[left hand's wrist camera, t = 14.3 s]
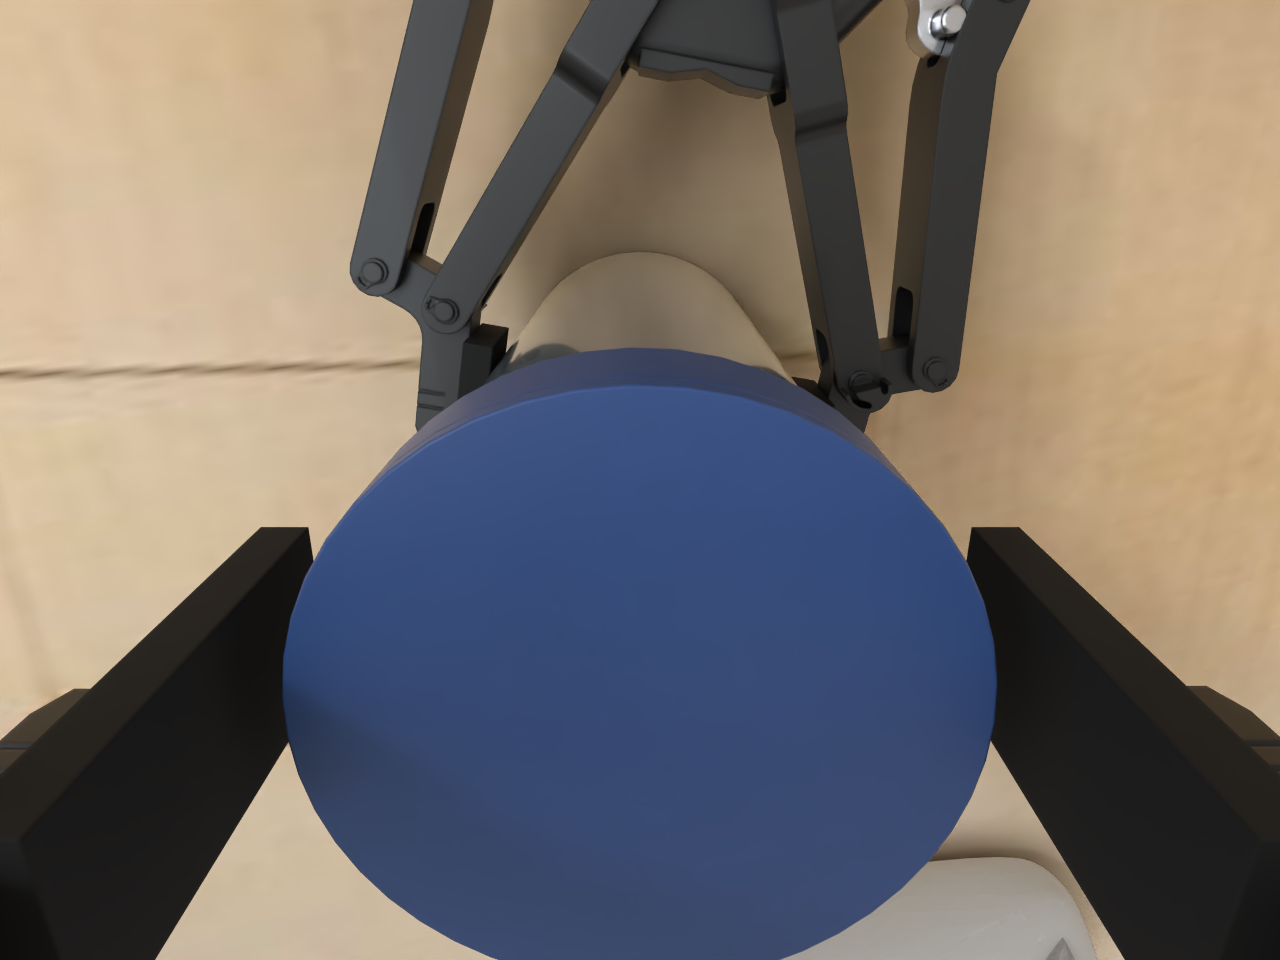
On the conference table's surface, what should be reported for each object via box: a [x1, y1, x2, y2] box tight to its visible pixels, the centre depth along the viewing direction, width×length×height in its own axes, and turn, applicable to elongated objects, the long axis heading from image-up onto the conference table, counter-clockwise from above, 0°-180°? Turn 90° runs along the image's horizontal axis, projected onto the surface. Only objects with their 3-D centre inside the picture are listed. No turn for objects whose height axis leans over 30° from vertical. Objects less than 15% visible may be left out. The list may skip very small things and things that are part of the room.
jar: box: [483, 252, 797, 386], centre depth 20 cm, size 8×8×19 cm
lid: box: [282, 347, 997, 960], centre depth 11 cm, size 9×9×2 cm
